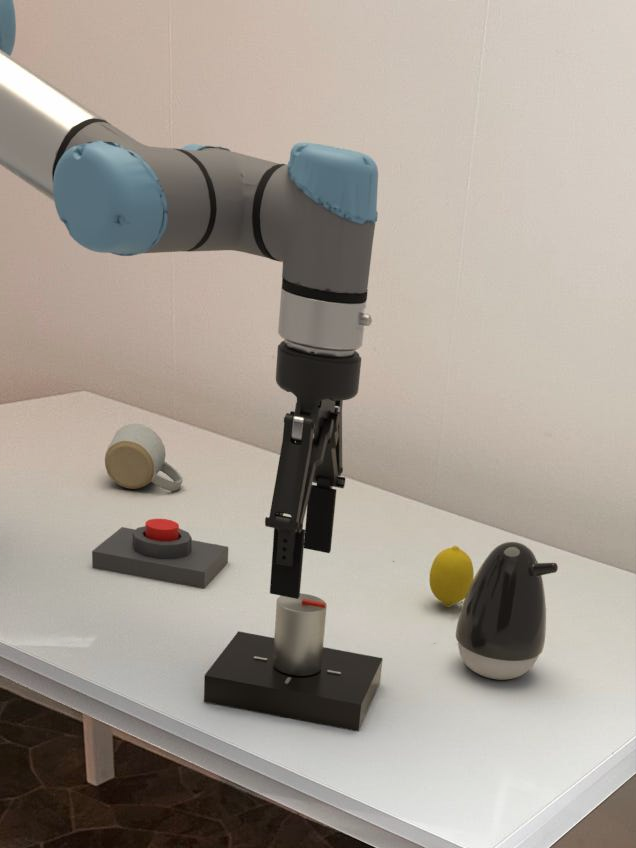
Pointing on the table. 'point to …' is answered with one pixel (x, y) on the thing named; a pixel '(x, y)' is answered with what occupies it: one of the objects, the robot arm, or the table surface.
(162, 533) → the power button
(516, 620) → the pump dispenser
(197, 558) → the button block
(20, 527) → the table surface
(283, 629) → the dial
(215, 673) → the dial panel
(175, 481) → the ceramic mug
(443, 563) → the lemon
